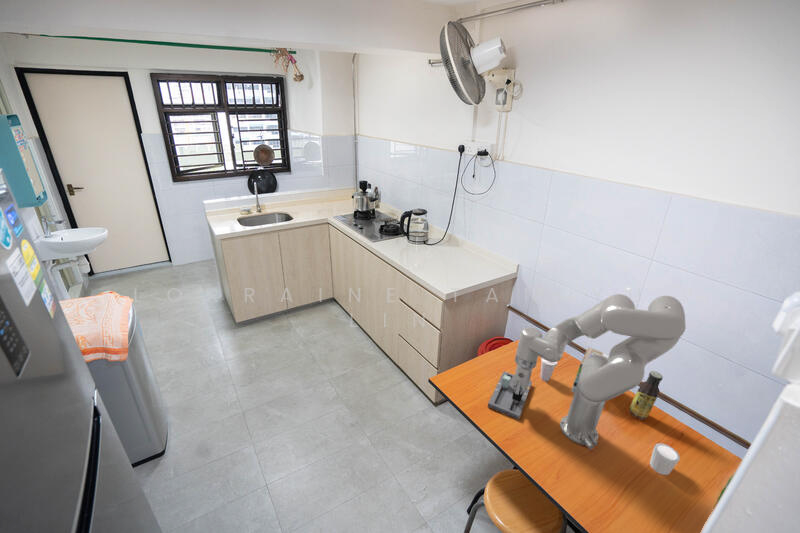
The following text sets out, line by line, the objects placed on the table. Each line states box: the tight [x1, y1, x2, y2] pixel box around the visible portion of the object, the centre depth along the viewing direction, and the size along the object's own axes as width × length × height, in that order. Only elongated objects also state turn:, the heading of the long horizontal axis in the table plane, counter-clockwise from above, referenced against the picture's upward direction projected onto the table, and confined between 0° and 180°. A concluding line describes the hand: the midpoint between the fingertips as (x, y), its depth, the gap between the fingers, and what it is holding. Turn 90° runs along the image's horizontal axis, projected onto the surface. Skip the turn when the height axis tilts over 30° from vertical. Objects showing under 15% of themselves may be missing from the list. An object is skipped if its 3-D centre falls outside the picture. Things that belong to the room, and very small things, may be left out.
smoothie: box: [540, 358, 558, 382], centre depth 154 cm, size 6×6×14 cm
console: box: [487, 371, 533, 421], centre depth 146 cm, size 22×12×2 cm, turn 150°
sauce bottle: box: [628, 370, 664, 421], centre depth 136 cm, size 7×6×20 cm
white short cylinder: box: [649, 443, 680, 476], centre depth 118 cm, size 7×7×7 cm
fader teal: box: [501, 375, 511, 390], centre depth 147 cm, size 2×3×5 cm
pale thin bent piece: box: [571, 347, 609, 394], centre depth 150 cm, size 15×10×15 cm, turn 143°
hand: (517, 397), depth 141 cm, fingers closed on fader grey, 2 cm apart
